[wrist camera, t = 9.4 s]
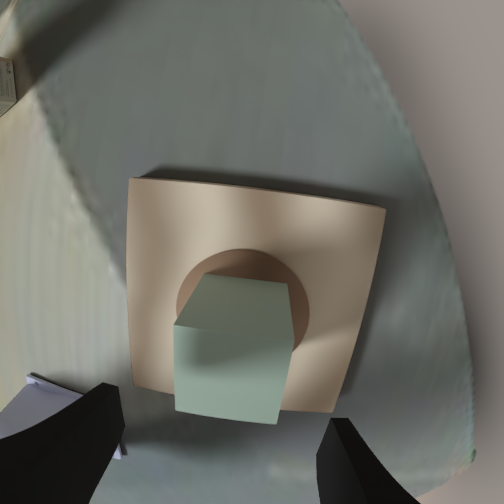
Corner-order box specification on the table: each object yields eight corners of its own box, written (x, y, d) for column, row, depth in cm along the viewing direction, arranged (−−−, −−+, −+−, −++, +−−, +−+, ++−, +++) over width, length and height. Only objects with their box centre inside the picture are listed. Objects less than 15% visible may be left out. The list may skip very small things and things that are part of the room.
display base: (140, 373, 21) (132, 387, 20) (139, 176, 18) (127, 178, 16) (329, 399, 21) (332, 414, 19) (377, 205, 17) (387, 209, 16)
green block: (200, 343, 18) (175, 410, 13) (204, 273, 17) (173, 324, 11) (275, 353, 18) (276, 424, 13) (287, 283, 17) (294, 340, 11)
